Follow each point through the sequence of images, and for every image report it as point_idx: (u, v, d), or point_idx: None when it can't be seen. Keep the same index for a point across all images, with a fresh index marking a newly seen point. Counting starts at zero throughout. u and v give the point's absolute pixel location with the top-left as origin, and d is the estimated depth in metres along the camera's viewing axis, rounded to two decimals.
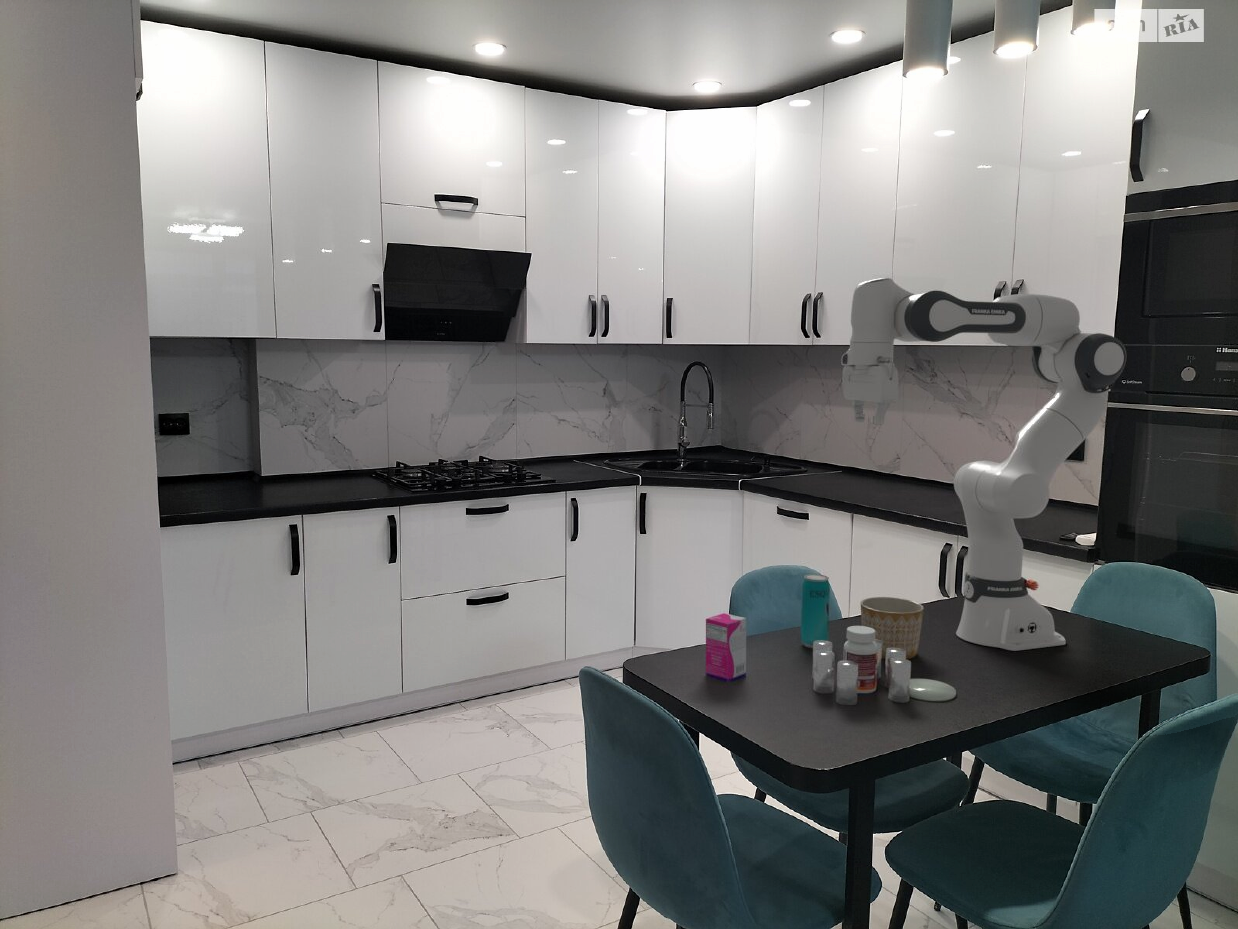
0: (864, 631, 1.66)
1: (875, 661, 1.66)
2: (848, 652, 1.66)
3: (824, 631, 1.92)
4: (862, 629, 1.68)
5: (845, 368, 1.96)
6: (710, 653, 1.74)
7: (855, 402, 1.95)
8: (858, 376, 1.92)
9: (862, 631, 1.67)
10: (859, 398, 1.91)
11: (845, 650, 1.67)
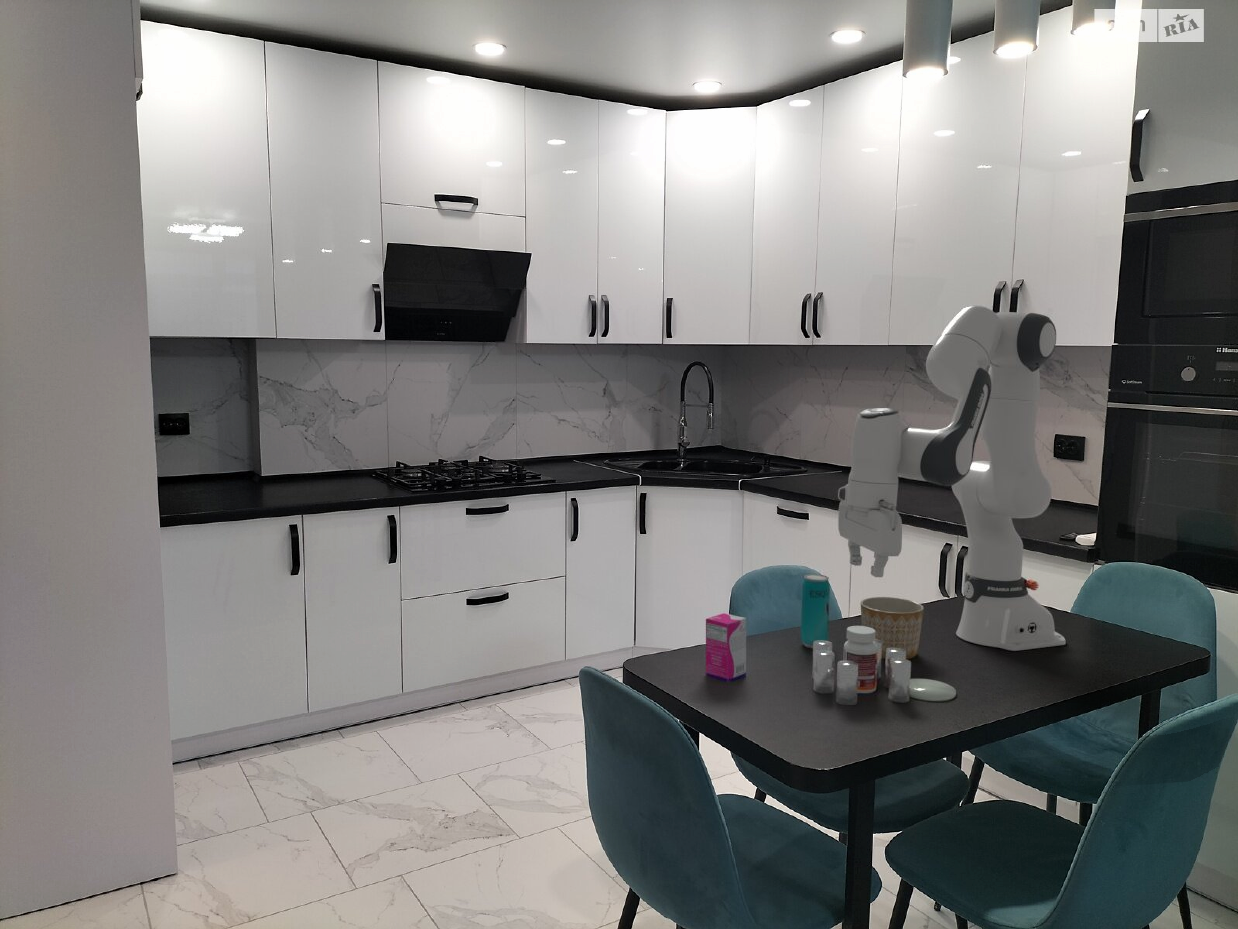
0: (864, 631, 1.66)
1: (875, 661, 1.66)
2: (848, 652, 1.66)
3: (824, 631, 1.92)
4: (862, 629, 1.68)
5: (842, 503, 1.72)
6: (710, 653, 1.74)
7: (852, 543, 1.72)
8: (856, 516, 1.68)
9: (862, 631, 1.67)
10: (856, 541, 1.67)
11: (845, 650, 1.67)
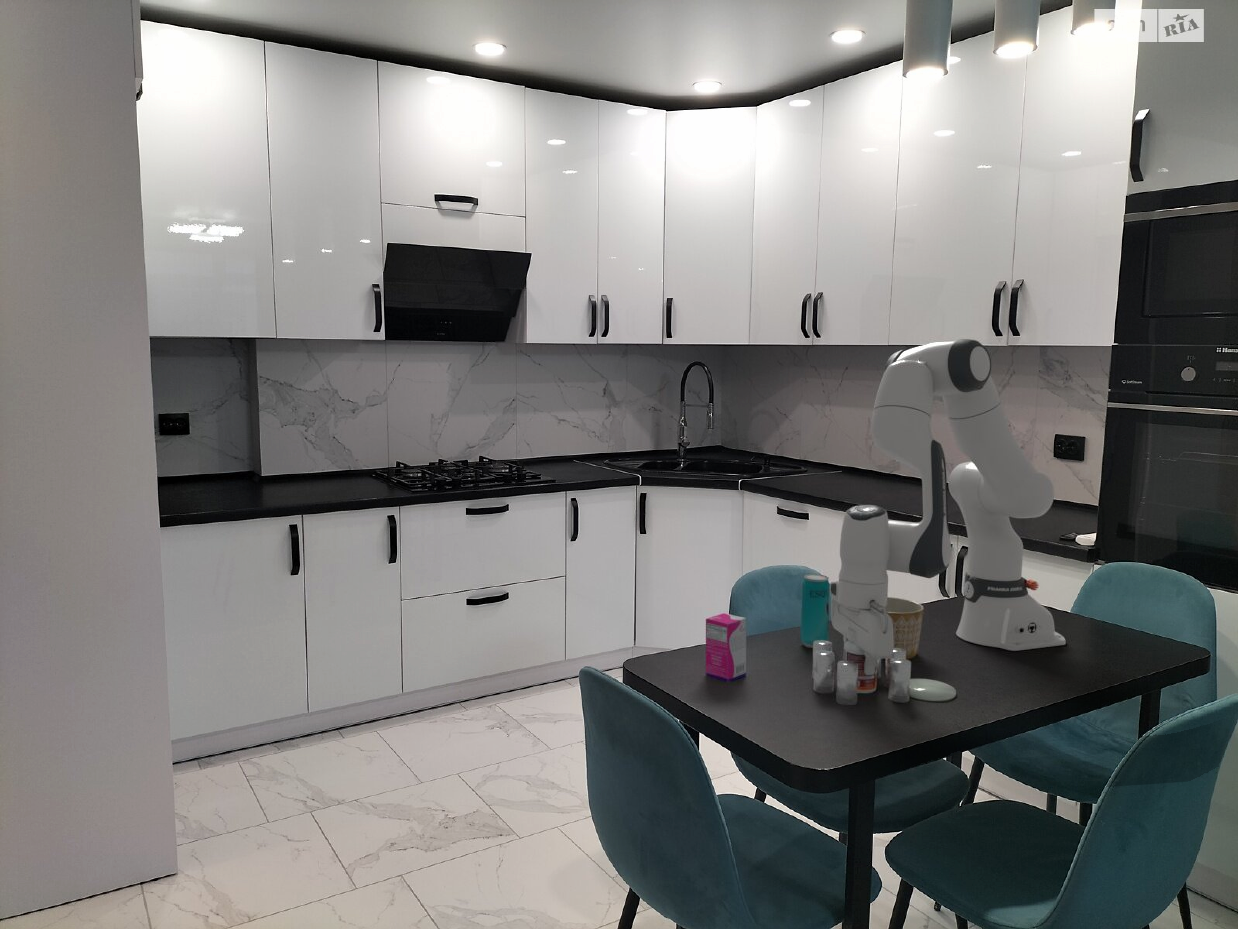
0: None
1: None
2: (848, 652, 1.66)
3: (824, 631, 1.92)
4: None
5: (834, 597, 1.74)
6: (710, 653, 1.74)
7: None
8: None
9: None
10: None
11: (845, 650, 1.67)
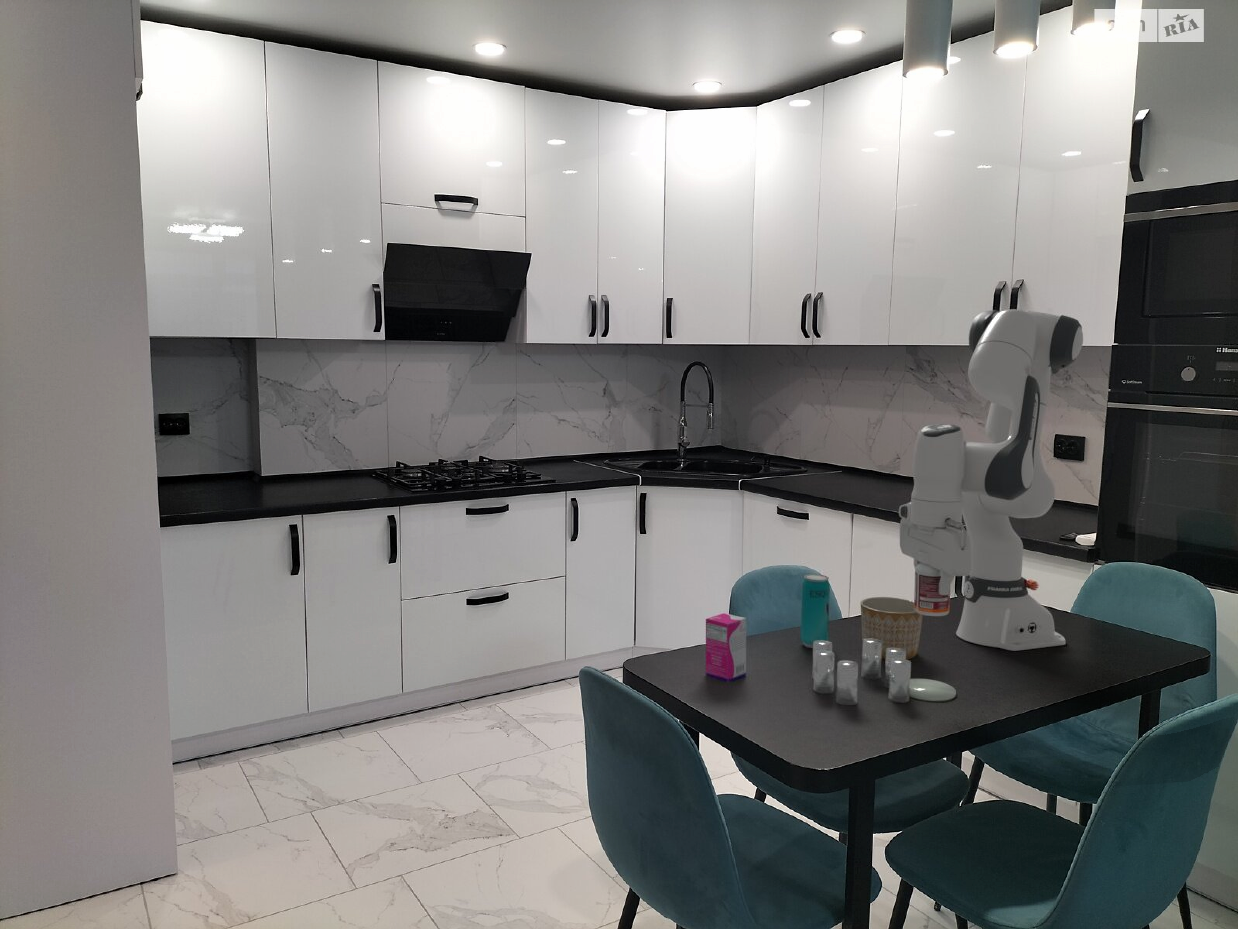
0: None
1: None
2: (921, 575, 1.64)
3: (824, 631, 1.92)
4: None
5: (904, 521, 1.71)
6: (710, 653, 1.74)
7: (918, 562, 1.69)
8: (920, 534, 1.67)
9: None
10: None
11: (917, 573, 1.65)
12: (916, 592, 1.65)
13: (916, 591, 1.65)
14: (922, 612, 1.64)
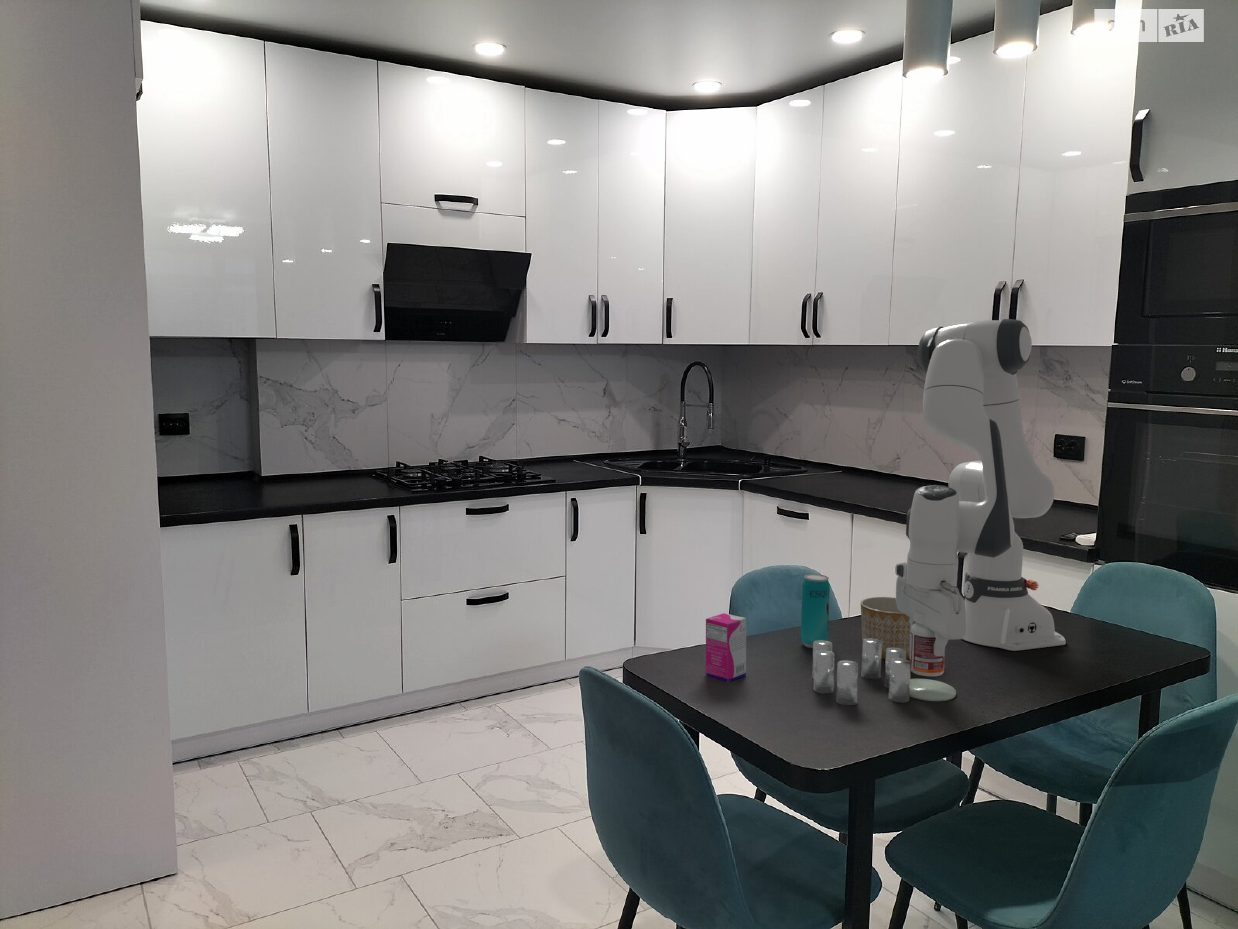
0: None
1: None
2: (916, 635, 1.65)
3: (824, 631, 1.92)
4: None
5: (900, 579, 1.72)
6: (710, 653, 1.74)
7: None
8: (916, 593, 1.68)
9: None
10: None
11: (912, 633, 1.66)
12: (911, 651, 1.66)
13: (911, 651, 1.67)
14: (917, 672, 1.65)
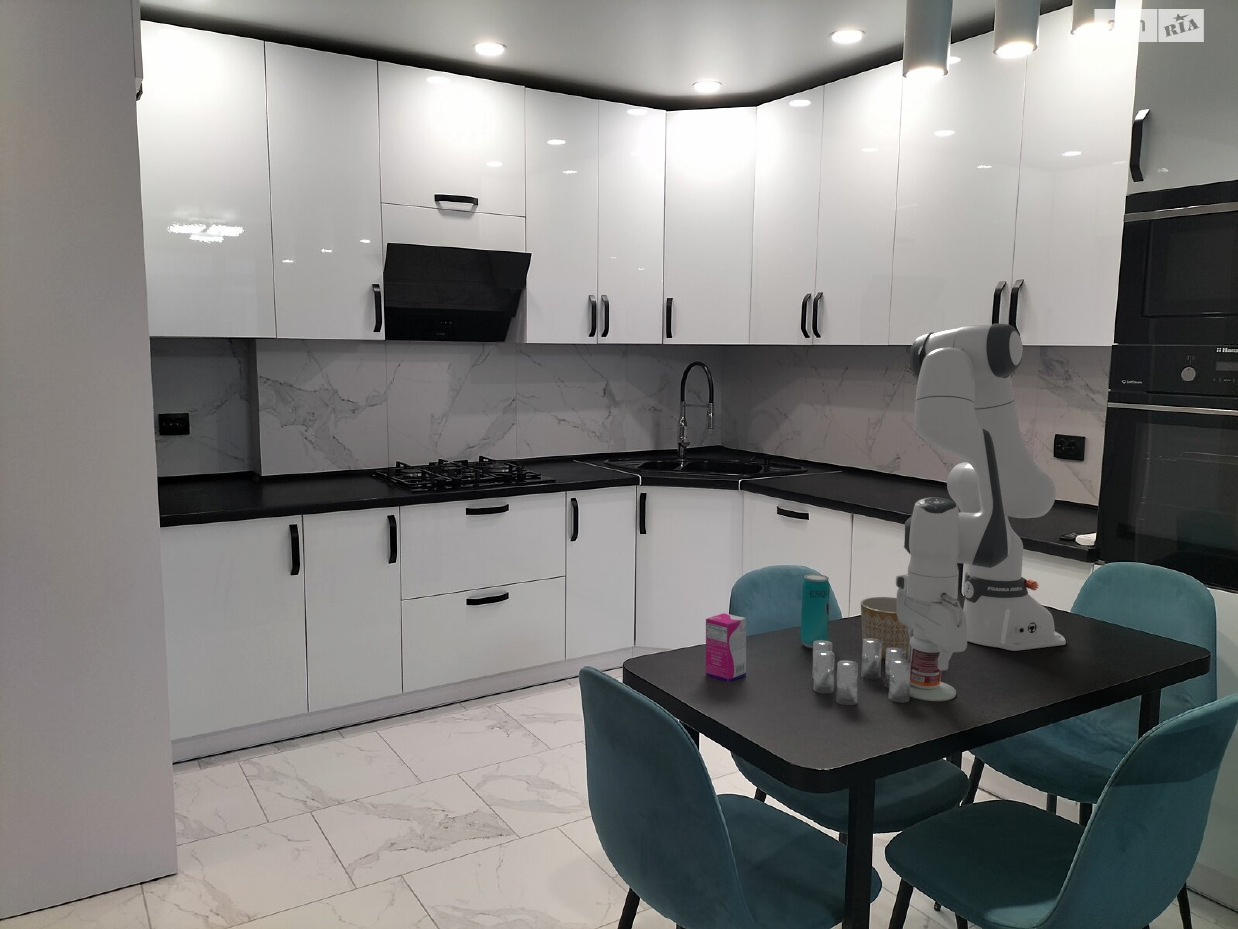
0: None
1: None
2: (914, 649, 1.66)
3: (824, 631, 1.92)
4: None
5: (900, 591, 1.72)
6: (710, 653, 1.74)
7: (912, 630, 1.72)
8: (916, 605, 1.68)
9: None
10: None
11: (911, 646, 1.67)
12: None
13: None
14: (913, 684, 1.67)
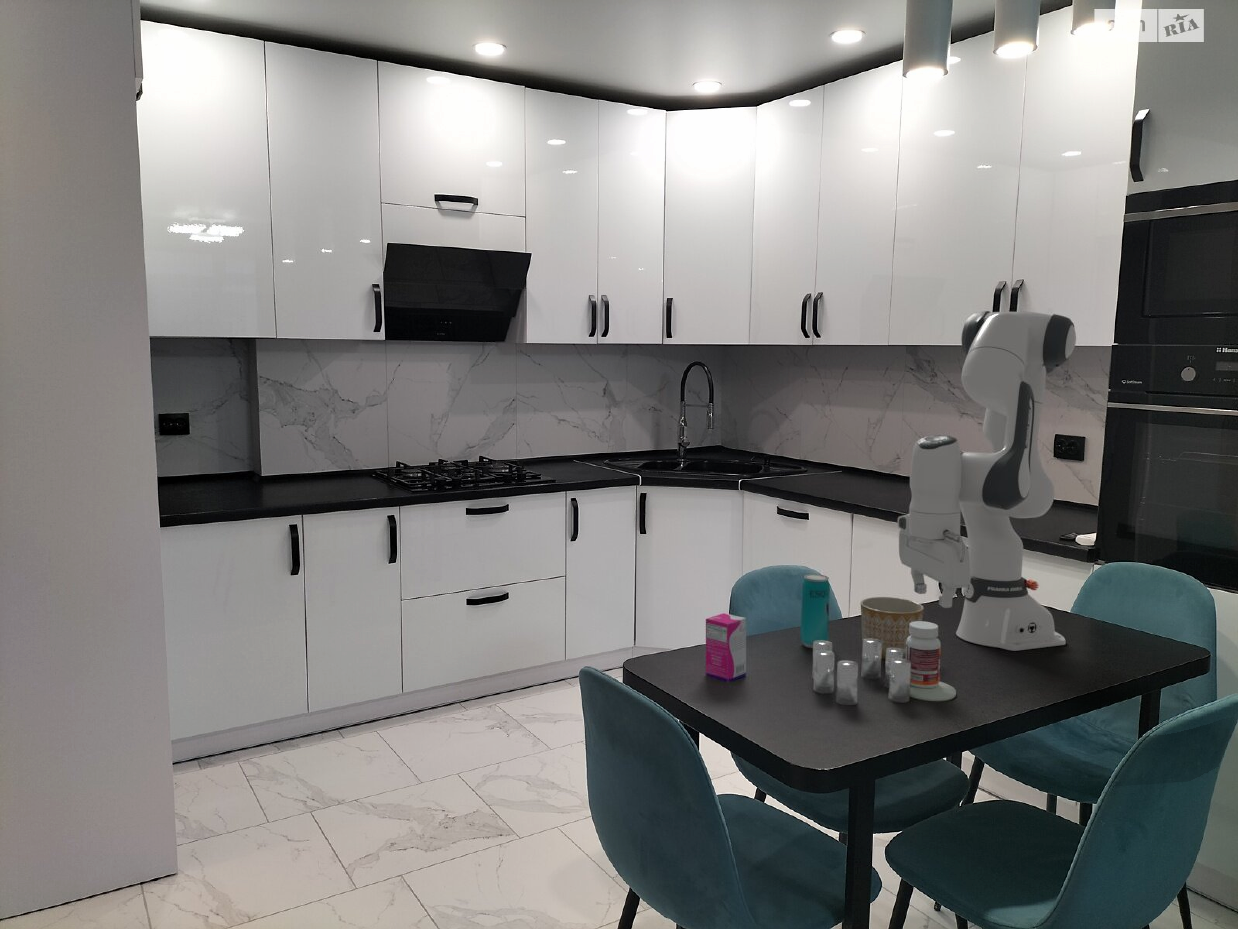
0: (927, 627, 1.67)
1: (938, 656, 1.67)
2: (911, 648, 1.68)
3: (824, 631, 1.92)
4: (924, 625, 1.69)
5: (902, 532, 1.71)
6: (710, 653, 1.74)
7: (915, 571, 1.70)
8: (919, 545, 1.67)
9: (925, 626, 1.68)
10: (921, 571, 1.66)
11: (908, 645, 1.69)
12: None
13: None
14: (912, 684, 1.68)
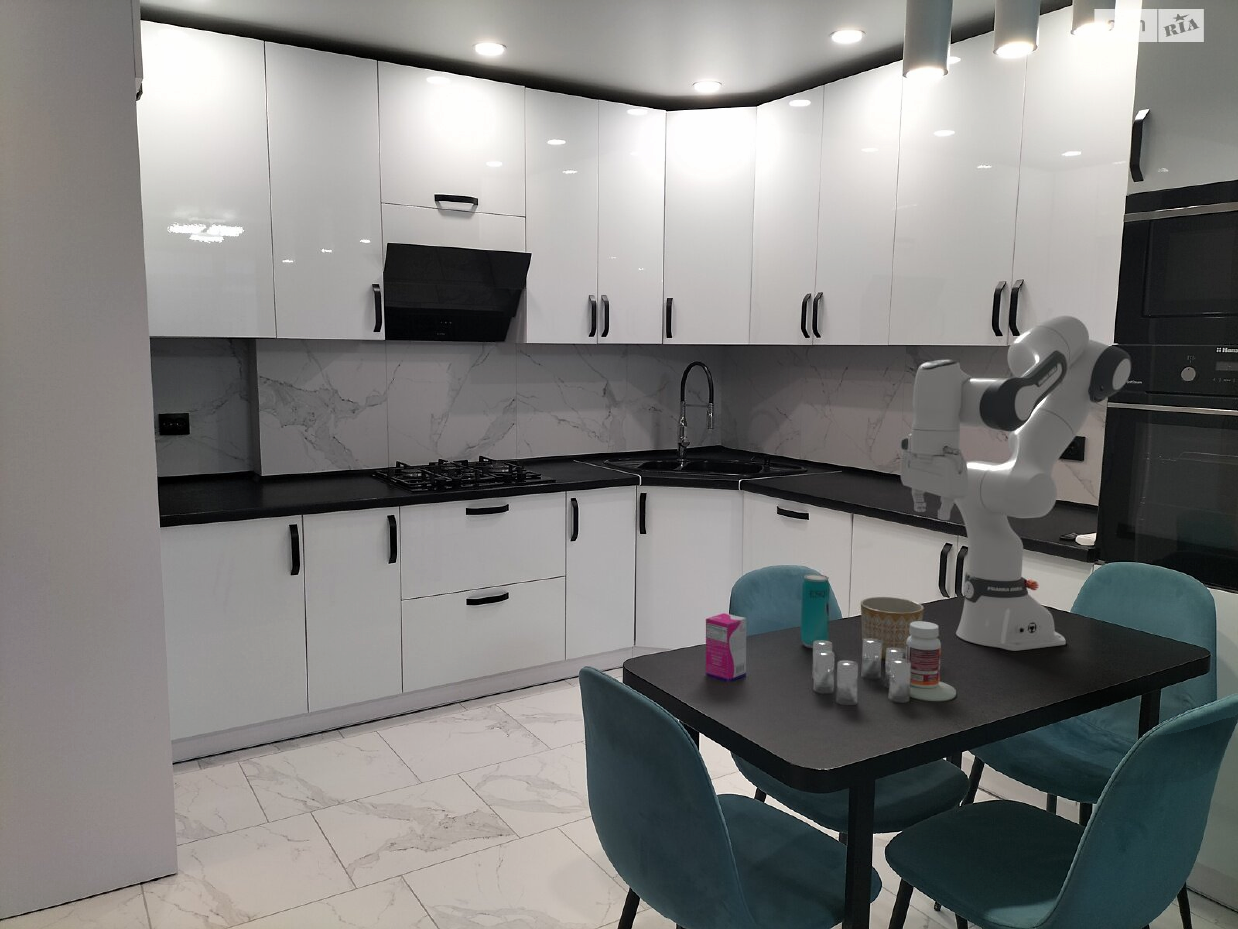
0: (927, 627, 1.67)
1: (938, 656, 1.67)
2: (912, 648, 1.68)
3: (824, 631, 1.92)
4: (925, 625, 1.69)
5: (904, 453, 1.81)
6: (710, 653, 1.74)
7: (915, 490, 1.80)
8: (920, 464, 1.77)
9: (925, 626, 1.68)
10: (921, 488, 1.76)
11: (908, 645, 1.69)
12: None
13: None
14: (912, 684, 1.68)
